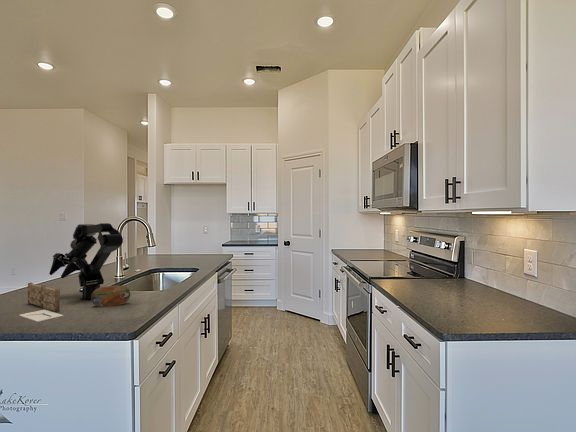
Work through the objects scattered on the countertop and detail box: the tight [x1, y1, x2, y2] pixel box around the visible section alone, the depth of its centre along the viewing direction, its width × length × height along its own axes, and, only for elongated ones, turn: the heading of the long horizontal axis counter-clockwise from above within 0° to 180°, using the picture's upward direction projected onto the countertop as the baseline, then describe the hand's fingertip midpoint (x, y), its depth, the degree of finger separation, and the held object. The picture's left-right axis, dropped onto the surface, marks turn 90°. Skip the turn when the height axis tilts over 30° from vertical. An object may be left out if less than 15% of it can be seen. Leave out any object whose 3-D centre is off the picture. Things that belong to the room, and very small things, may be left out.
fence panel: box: [27, 282, 42, 307], centre depth 147 cm, size 11×2×8 cm, turn 60°
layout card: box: [18, 309, 64, 323], centre depth 133 cm, size 14×9×1 cm, turn 60°
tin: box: [91, 284, 131, 308], centre depth 150 cm, size 15×3×8 cm, turn 117°
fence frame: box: [40, 284, 61, 313], centre depth 141 cm, size 12×2×9 cm, turn 60°
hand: (55, 276), depth 153 cm, fingers open, 9 cm apart
